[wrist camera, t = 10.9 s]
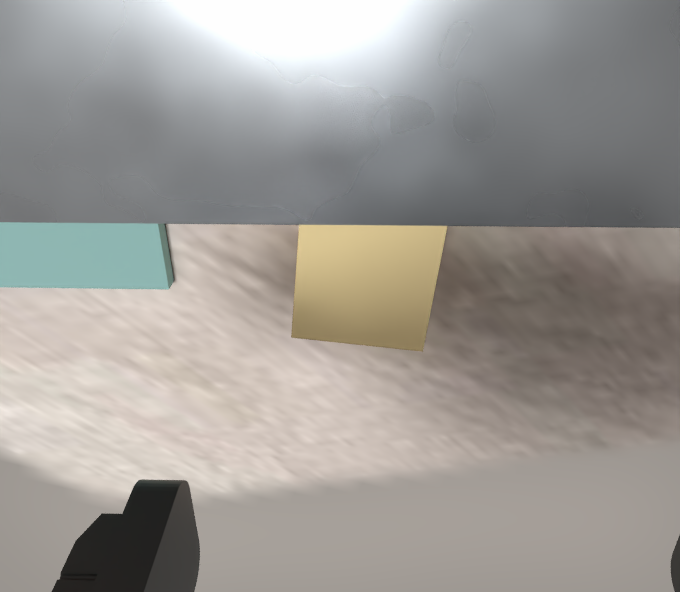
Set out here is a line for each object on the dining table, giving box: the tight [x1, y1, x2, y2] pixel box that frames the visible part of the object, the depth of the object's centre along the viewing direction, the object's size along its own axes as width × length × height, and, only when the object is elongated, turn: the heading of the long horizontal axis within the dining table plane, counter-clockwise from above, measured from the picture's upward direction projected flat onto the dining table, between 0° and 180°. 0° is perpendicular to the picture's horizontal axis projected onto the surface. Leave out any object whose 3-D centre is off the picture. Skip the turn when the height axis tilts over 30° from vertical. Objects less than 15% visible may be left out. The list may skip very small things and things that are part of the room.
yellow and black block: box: [291, 225, 447, 351], centre depth 16 cm, size 5×13×6 cm, turn 175°
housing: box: [0, 0, 680, 228], centre depth 13 cm, size 14×5×10 cm, turn 91°
